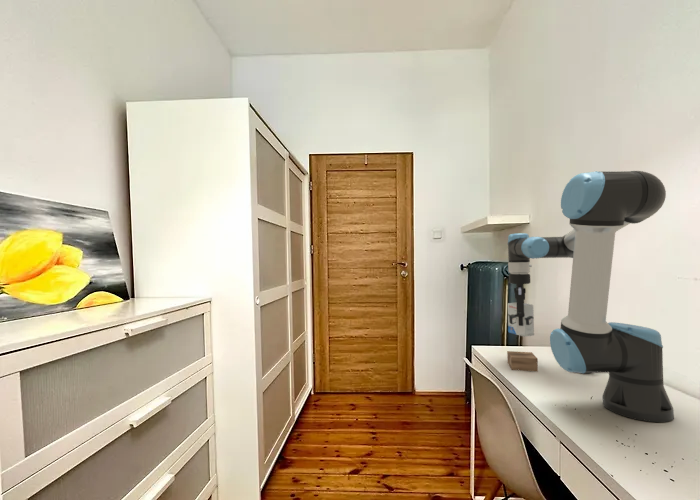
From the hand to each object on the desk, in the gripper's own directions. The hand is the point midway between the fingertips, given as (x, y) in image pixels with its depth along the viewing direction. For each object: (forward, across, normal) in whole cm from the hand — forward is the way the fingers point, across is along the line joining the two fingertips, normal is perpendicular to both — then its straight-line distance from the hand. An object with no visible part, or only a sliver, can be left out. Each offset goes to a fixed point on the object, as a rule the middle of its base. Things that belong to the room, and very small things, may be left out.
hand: (520, 331), depth 136 cm
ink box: (+1, 0, 0) cm, 1 cm away
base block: (+14, 0, 0) cm, 14 cm away
